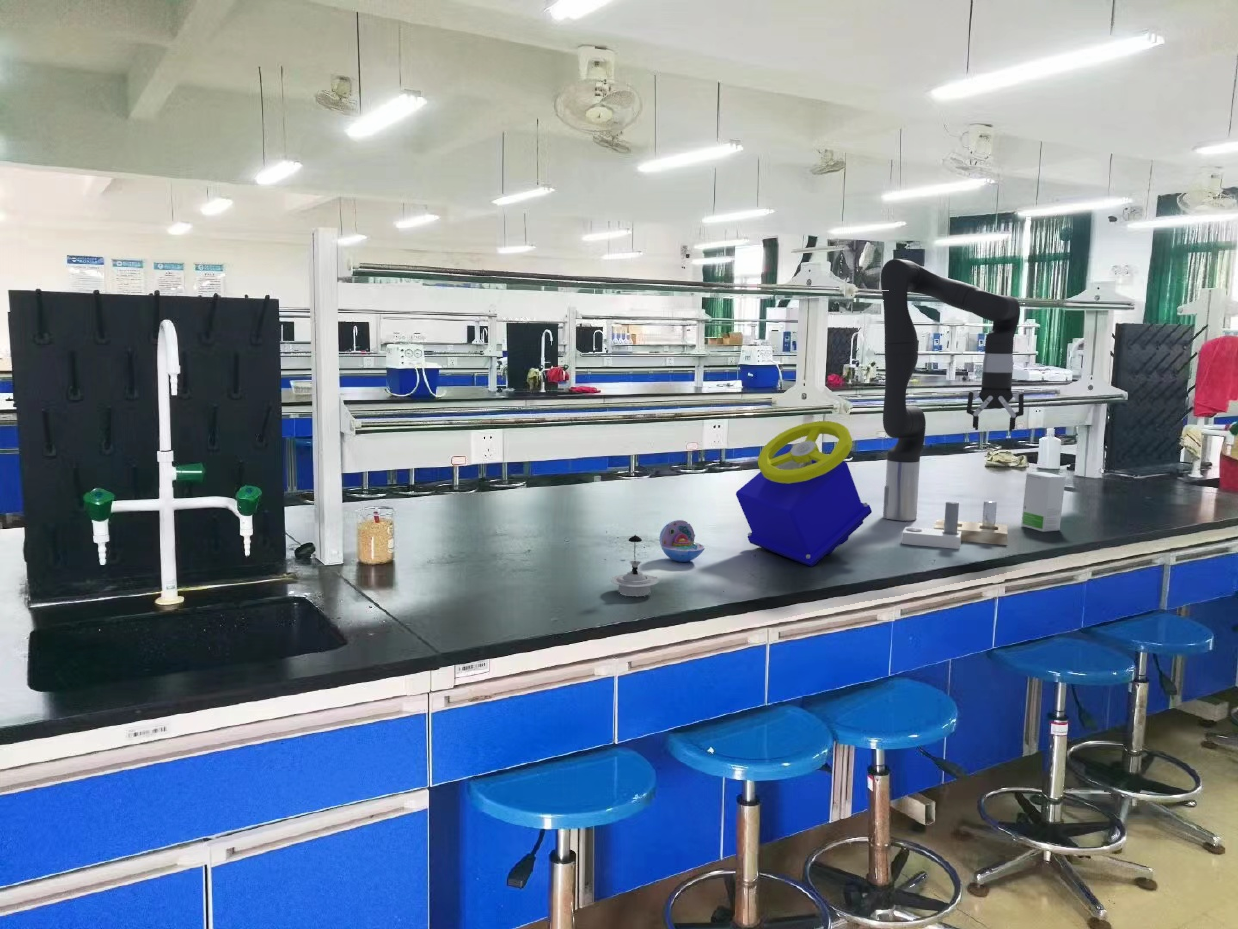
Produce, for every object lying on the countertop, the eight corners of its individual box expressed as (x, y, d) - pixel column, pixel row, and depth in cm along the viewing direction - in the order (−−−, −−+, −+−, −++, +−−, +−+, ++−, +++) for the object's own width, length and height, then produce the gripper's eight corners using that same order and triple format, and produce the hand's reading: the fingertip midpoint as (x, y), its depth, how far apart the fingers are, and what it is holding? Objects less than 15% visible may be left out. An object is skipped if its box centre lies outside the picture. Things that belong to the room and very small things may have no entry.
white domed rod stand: (662, 539, 181) (656, 529, 191) (613, 540, 180) (608, 530, 190) (661, 599, 183) (655, 585, 193) (612, 600, 182) (608, 586, 192)
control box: (824, 505, 239) (788, 411, 226) (904, 529, 217) (869, 427, 204) (757, 563, 230) (716, 470, 217) (834, 595, 208) (793, 493, 195)
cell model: (679, 569, 207) (679, 528, 205) (650, 558, 217) (651, 518, 215) (714, 563, 212) (714, 523, 210) (684, 553, 222) (685, 515, 220)
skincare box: (1020, 526, 257) (1024, 472, 255) (1037, 524, 259) (1041, 471, 257) (1044, 532, 249) (1048, 476, 247) (1062, 530, 252) (1066, 475, 250)
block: (901, 543, 234) (904, 502, 232) (904, 537, 241) (907, 497, 240) (959, 549, 228) (962, 506, 227) (960, 542, 236) (963, 501, 234)
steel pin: (981, 539, 240) (983, 502, 238) (981, 537, 243) (983, 500, 241) (994, 540, 238) (996, 503, 237) (994, 538, 241) (996, 501, 240)
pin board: (933, 538, 240) (933, 527, 240) (936, 529, 251) (936, 519, 251) (1006, 545, 233) (1007, 533, 233) (1006, 535, 244) (1007, 525, 244)
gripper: (968, 370, 242) (964, 430, 244) (1026, 371, 236) (1022, 433, 239) (969, 369, 249) (966, 428, 251) (1026, 370, 243) (1021, 430, 246)
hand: (993, 430), depth 245 cm, fingers open, 8 cm apart
